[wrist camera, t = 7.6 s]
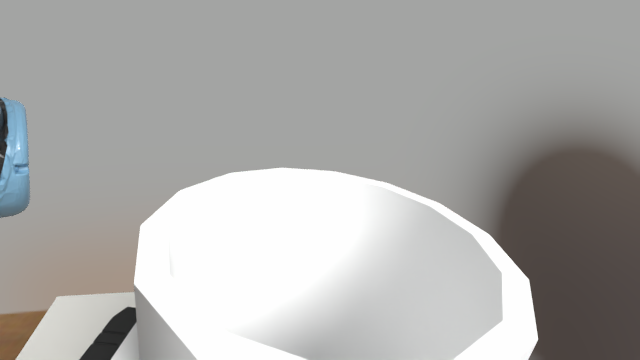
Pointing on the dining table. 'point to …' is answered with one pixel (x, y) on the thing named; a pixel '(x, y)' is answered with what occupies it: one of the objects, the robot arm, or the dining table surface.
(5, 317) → the dining table surface
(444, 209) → the foam cup
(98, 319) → the key
